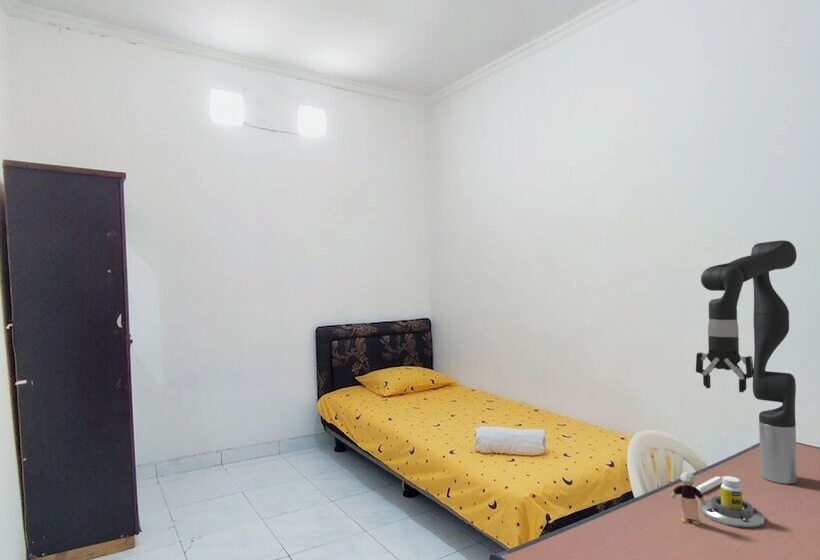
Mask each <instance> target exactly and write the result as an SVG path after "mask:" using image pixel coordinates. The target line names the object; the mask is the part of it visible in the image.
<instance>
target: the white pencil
mask: <svg viewBox="0 0 820 560" xmlns="http://www.w3.org/2000/svg"><path fill="white" fill-rule="evenodd" d="M722 484H723V483H722V476H718V475H717V476H714V477H712V478H711V479H708V480H706V481H704V482H703V483H701V484H699V485H696V487H695V488H697V489H698V490H699V491H700V492H701V494H702V495H703V494H704V493H707V492H709V491H711V490H713V489H714V488H716V487H718V486H721V485H722Z"/></svg>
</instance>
